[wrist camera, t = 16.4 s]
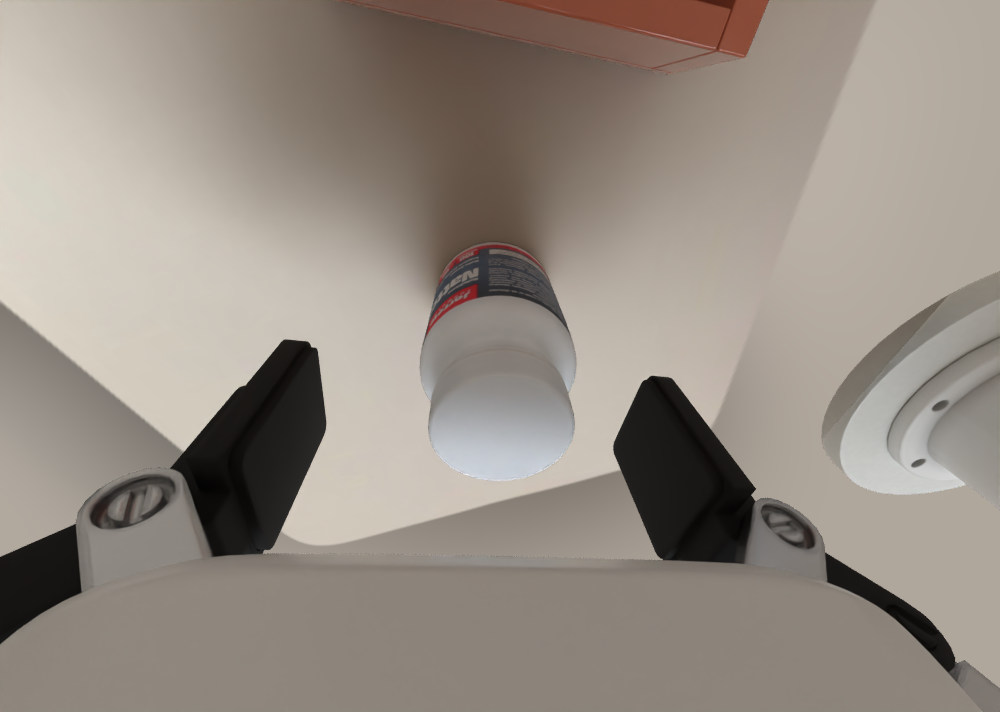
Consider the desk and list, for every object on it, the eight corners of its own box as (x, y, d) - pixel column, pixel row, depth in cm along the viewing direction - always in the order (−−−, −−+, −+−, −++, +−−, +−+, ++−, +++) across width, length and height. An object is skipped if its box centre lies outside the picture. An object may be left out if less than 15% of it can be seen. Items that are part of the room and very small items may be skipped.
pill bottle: (466, 217, 15) (453, 314, 8) (570, 271, 17) (642, 396, 9) (420, 319, 18) (377, 466, 10) (514, 359, 19) (536, 511, 12)
